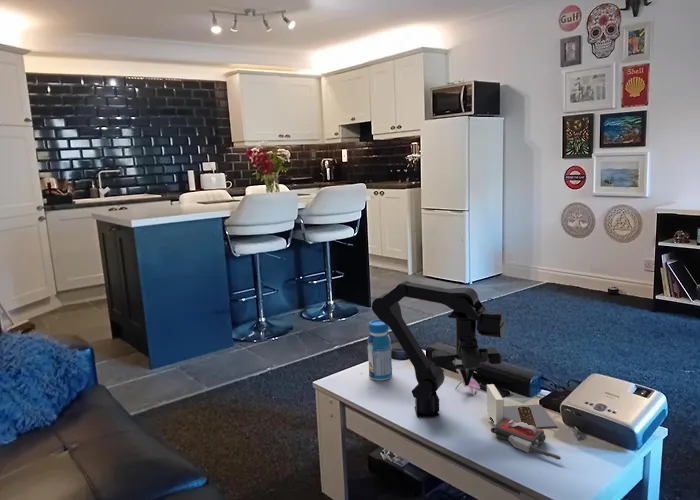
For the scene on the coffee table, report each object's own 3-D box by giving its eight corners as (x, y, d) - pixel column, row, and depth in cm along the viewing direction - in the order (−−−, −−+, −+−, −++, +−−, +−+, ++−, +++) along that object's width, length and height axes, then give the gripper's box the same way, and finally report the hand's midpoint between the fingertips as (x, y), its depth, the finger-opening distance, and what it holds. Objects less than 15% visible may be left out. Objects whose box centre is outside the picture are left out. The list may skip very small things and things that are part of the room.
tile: (496, 427, 151) (496, 399, 149) (486, 411, 161) (486, 384, 159) (503, 427, 151) (504, 399, 149) (494, 410, 161) (494, 384, 159)
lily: (459, 403, 168) (473, 381, 166) (437, 380, 176) (450, 359, 173) (479, 402, 175) (493, 381, 173) (457, 380, 183) (470, 360, 181)
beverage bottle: (383, 383, 183) (381, 327, 180) (363, 378, 189) (361, 323, 185) (397, 374, 190) (395, 320, 186) (378, 369, 195) (375, 317, 192)
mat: (506, 429, 149) (506, 428, 149) (494, 408, 162) (494, 406, 162) (557, 427, 149) (557, 425, 149) (540, 405, 162) (540, 404, 162)
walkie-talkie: (486, 438, 146) (558, 465, 132) (485, 423, 145) (558, 449, 131) (502, 424, 152) (573, 449, 138) (502, 409, 151) (573, 433, 137)
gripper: (437, 345, 143) (439, 399, 146) (507, 341, 143) (507, 396, 146) (431, 331, 154) (432, 382, 157) (496, 328, 154) (496, 379, 157)
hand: (466, 385), depth 154 cm, fingers closed
